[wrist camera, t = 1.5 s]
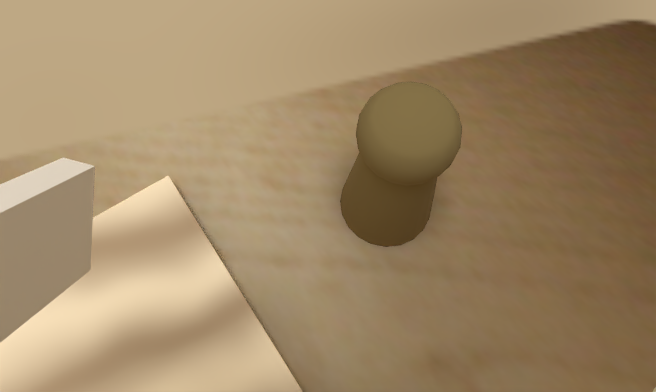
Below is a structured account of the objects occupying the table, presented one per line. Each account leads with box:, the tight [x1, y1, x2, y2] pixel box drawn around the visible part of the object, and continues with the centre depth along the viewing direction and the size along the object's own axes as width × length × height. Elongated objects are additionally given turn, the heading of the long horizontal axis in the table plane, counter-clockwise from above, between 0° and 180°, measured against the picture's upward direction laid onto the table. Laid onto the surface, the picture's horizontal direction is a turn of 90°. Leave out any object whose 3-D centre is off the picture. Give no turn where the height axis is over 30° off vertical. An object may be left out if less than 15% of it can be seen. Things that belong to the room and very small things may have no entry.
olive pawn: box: [340, 82, 462, 247], centre depth 29 cm, size 6×6×11 cm
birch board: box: [0, 176, 303, 392], centre depth 28 cm, size 18×18×2 cm
